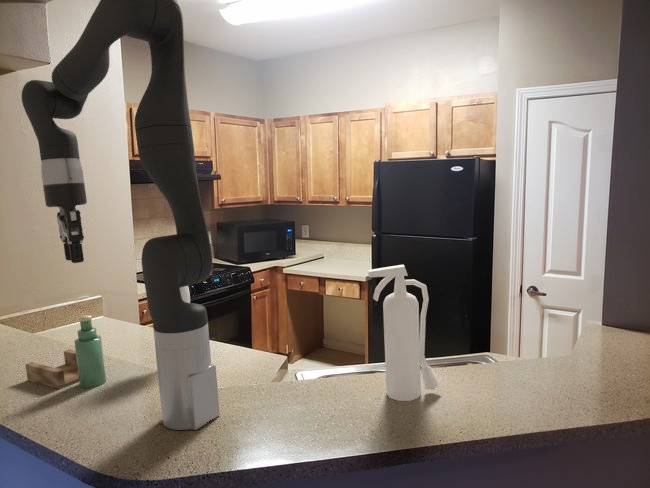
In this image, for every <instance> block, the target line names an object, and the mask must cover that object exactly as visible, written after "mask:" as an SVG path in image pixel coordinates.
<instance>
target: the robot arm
mask: <svg viewBox="0 0 650 488" xmlns="http://www.w3.org/2000/svg"><path fill="white" fill-rule="evenodd" d="M184 34H185V33H184V17H183V11H182V5H181V2H180V0H100V1H99V2H98V4H97V6H96V8H95V9H94V11H93V13H92V14H91V16H90V18H89V20H88V21H87V24H86V26H85V28H84V30H83V32H82V33H81V35H80V37H79V39H78V40H77V41H76V43H75V45H74V46H73V47H72V48H71V50H69V52H68V53H66V55H65V56H64V57H63V58H62V59H61V60H60V61H59V62H58V63H57V65H56V66H55V67H54V69H53V70H52V72H51V81H46V80H40V79H32V80H29V81H27V82H25V84H24V85H23V88H22V90H21V103H22V107H23V109H24V112H25V114H26V116H27V118H28V120H29V122H30V124H31V126H32V129H33V131H34V134H35V137H36V139H37V141H38V148H39V149H38V150H39V155H40V165H41V167H40V173H41V180H42V187H43V195H44V202H45V206H46V208H47V207H48V208H59V211H58V212H57V213H56V222H57V225H58V232H59V238H60V240H61V242H62V244H63V251H64V257H65V260H66V261H71V263H73V264H77V263H83V262H85V261H84V260H85V259H84V252H83V245H82V244H83V241H84V239H85V236H84V233H83V227H82V225H83V224H82V216H81V211H80V210H79V209H77V208H76V206H83V205H86V204H87V202H88V200H87V199H88V198H87V194H86V193H87V192H86V185H85V177H84V170H83V166H82V163H81V160H80V159H81V158H80V152H79V151H80V150H79V144H78V143H79V142H78V138H77V135H76V133H74V131H71V130H69V129H64V128H62V127H60V126H58V125H57V124H56V122H55V120H54V119H58V120H70V119H71V120H72V119H74V118H76V117H78V116H79V115H80V114H81V113H82V112H83V109H84V106H85V103H86V101H87V98H88V96H89V95H90V93H91V92H92V91H93V90H95V88H97V87H98V86H99V85H100V83H102V82H103V80H104V79H105V78H106V76H107V75H108V72H109V68H110V47H111V46H112V45H113V44H114V43H115V42H117V41H118V40H119V39H121V38H123V37H125V36H126V37H129V38H132V39H136V40H141V41H143V42H147V43H148V45H149V50H150V58H151V59H150V61H151V75H150V79H149V82H148V84H147V87H146V89H145V92H144V93H143V95H142V97H141V99H140V102H139V103H138V107H137V109H136V112H135V116H134V131H135V138H136V139H135V140H136V147H137V152H138V157H139V158H138V159H139V160H140V164H141V166H142V167H143V169H144V171H145V172H146V174H147V175H148V176H149V178H150V180H152V182H153V183H154V185H155V186H156V187H157V189H158V190H159V191H160V192H161V194H162V195H163V197H164V198H165V200H166V201H167V203H168V205H169V207H170V209H171V212H172V216H173V220H174V224H175V229H176V230H175V231H176V234H170V235H161V236H157V237H152V238H150V239H147V241H146V242H145V244H144V245H143V247H142V250H141V270H142V276H143V282H144V288H145V294H146V303H147V307H148V308H147V309H148V312H149V315H150V317H151V321H152V326H153V328H152V329H153V337H154V347H155V358H156V368H157V377H158V378H157V380H158V388H159V397H160V407H161V416H162V418H161V419H162V425H163V426H164V427H166V429H170V430H175V431H176V430H177V431H183V430H185V431H186V430H194V431H197V430H199V429H200V428H202V427H203V426H205V425H206V424H208V423H209V421H210V420H211V421H213V420H214V419H216V418H218V417H219V416H220V415H221V414H220V402H219V401H220V400H219V391H218V390H219V389H218V377H217V366H216V365H215V364H212V358H211V345H210V335H209V334H210V332H209V330H210V329H209V321H208V320H209V319H208V310H207V308H206V307H205V306H204V305H202V304H200V303H193V302H190V303H186V302H184V301H183V300H182V297H181V292H180V287H184V286H188V287H189V286H192V285H196V284H200V283H201V284H202V282H205V281H206V280H208V279H209V277H210V276H211V273H212V271H213V270H212V269H213V251H212V244H211V240H210V236H209V231H208V226H207V221H206V217H205V214H204V210H203V205H202V198H201V193H200V186H199V181H198V173H197V165H196V156H195V145H194V139H193V137H194V136H193V129H192V122H191V117H190V110H189V104H188V103H189V102H188V91H187V90H188V89H187V82H186V71H185V70H186V69H185V41H184V39H185V35H184ZM212 419H213V420H212ZM211 421H210V422H211ZM207 422H208V423H207Z"/></svg>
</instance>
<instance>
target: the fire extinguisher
mask: <svg viewBox="0 0 650 488" xmlns="http://www.w3.org/2000/svg"><path fill="white" fill-rule="evenodd" d="M405 276H406V277H408V276H409V275H408V272H407V269H406V266H405V265H404V264H398V265H392V266H386V267H379V268H373V269H368V278H380V277H381V278H383V279H382V280H380V282H379V283H378V285H376V287H375V289H374V293H373V297H372V299H373V300H375V301H376V302H378V301H379V297H380V294H381V292H382V291H383V289H384V288H385V287H386V285H387V284H389V283H390V282H391V280H393V279H395V280H394V286H393V287H394V289H393V292H392V293H390V294H388V295H387V296H385V298H384V300H383V303H382V307H383V308H382V309H383V310H382V311H383V312H382V313H383V335H384V337H383V338H384V339H383V340H384V359H385V360H384V363H385V388H386V395H387V396H388V398H389V399H392V400H395V401H398V402H411V401H414V400H418V399H419V398H420V396H421V395H422V382H423V386H424V389H425V390H431V391H432V390H435V389H436V388H437V387H439V386H440V385H441V384H442V383H441V382H440V380H439V378H438V376H437V375H436V373H435V371H434V370H433V368H432V366H430V365H428V364H427V359H426V357H425V347H426V344H425V343H426V322H427V319H426V318H427V317H426V316H427V311H428V305H429V300H430V299H429V293H428V287H427V285H426V284H425V283H422V282H420V281H418V280H416V279H405ZM411 285H412V286H416V287H418V288H420V289H421V293H422V298H423V301H422V308H421V312H420V310H419V309H420V308H419V301H418V299H417V297H416V296H415V294H414V295H413V294H412V293H409V292H408V291H407V286H411ZM419 312H420V313H419ZM421 377H422V379H421Z"/></svg>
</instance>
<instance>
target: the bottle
mask: <svg viewBox="0 0 650 488" xmlns="http://www.w3.org/2000/svg"><path fill="white" fill-rule="evenodd" d="M92 318H93V317H92V315H91V314H87V315H86V314H85V315H81V316H79V317H78V320H79V323H80V326H79V327H80V329H79V330H77V337H78V338H76V339H75V340H74V351H76V359H77V367H78V375H79V382H78V383H79V387H80V388H81V389H92V388H97V387H101V386H103V385H104V384H105V383H106V382H107V375H106V368H105V359H104V353H103V352H104V350H103V342H102V336H101V335H98V333H97V327H93V323H92V322H93V321H92V320H93V319H92Z"/></svg>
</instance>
